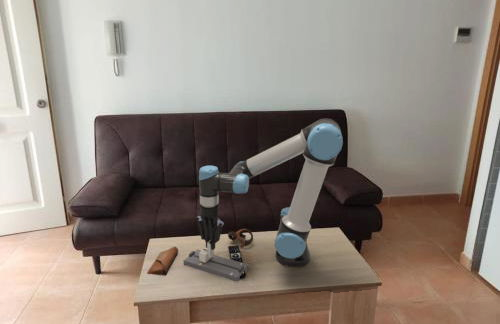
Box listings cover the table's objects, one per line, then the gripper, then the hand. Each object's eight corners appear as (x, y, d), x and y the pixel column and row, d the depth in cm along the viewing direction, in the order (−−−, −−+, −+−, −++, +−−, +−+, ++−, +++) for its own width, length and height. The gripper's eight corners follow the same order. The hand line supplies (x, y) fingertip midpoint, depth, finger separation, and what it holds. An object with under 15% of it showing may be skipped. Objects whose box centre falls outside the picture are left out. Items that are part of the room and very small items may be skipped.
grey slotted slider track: (248, 269, 154) (248, 262, 153) (236, 281, 145) (236, 274, 144) (197, 253, 165) (197, 247, 164) (183, 264, 157) (183, 257, 156)
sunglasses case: (160, 251, 166) (166, 240, 164) (173, 259, 167) (180, 248, 165) (145, 274, 149) (153, 262, 147) (160, 283, 150) (168, 271, 148)
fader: (213, 256, 158) (213, 247, 157) (205, 262, 153) (205, 254, 152) (207, 254, 160) (207, 245, 159) (199, 261, 155) (199, 252, 153)
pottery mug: (250, 238, 180) (255, 228, 175) (249, 254, 173) (254, 245, 168) (226, 233, 178) (230, 223, 173) (224, 249, 172) (228, 240, 166)
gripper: (228, 203, 148) (228, 255, 155) (201, 197, 154) (203, 247, 161) (218, 210, 142) (219, 263, 149) (190, 204, 148) (192, 255, 155)
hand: (210, 255), depth 155 cm, fingers closed
